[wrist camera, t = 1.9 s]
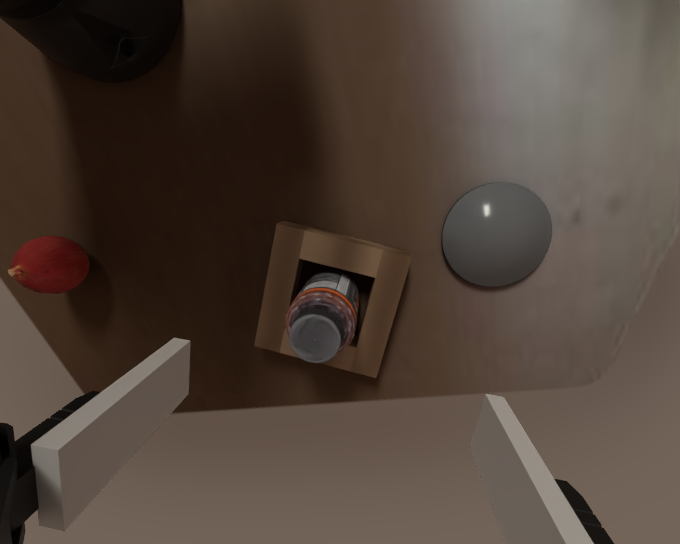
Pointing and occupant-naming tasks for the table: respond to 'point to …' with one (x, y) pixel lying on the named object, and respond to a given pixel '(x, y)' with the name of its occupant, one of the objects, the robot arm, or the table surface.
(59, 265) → the onion
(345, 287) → the supplement bottle
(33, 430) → the robot arm
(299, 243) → the pocket holder
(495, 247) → the grey domed disc
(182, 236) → the table surface
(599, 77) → the table surface
